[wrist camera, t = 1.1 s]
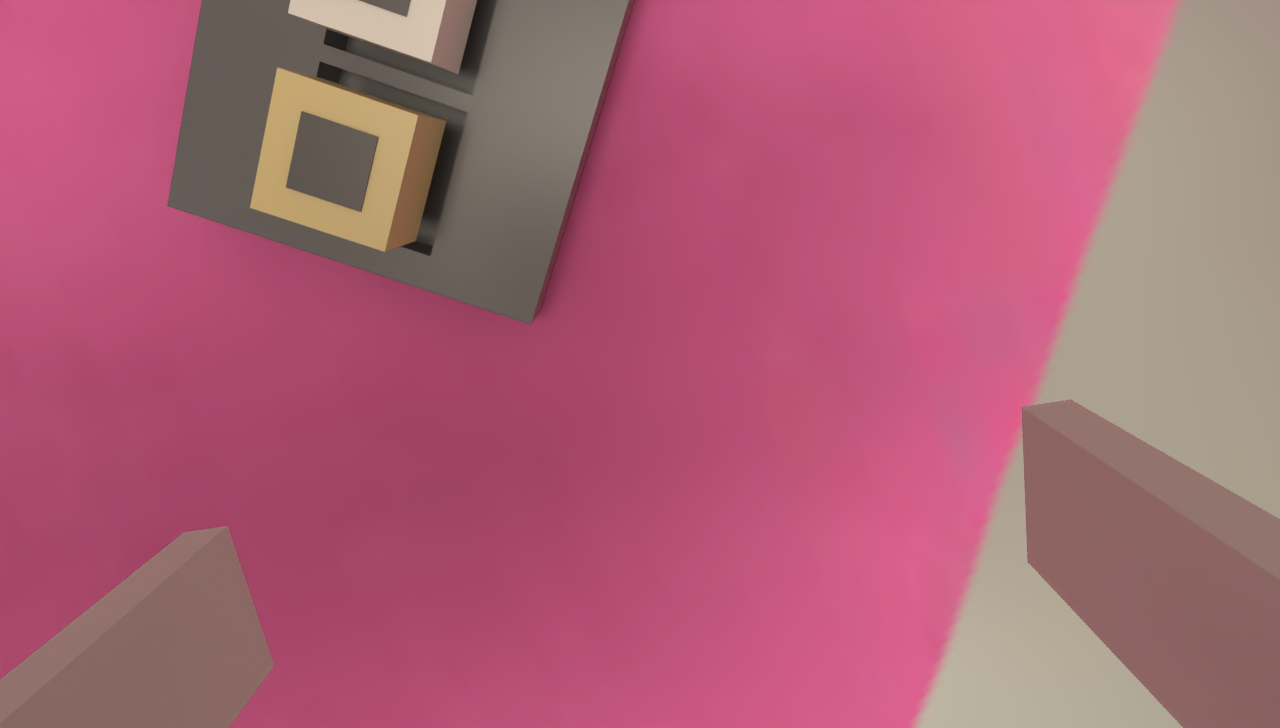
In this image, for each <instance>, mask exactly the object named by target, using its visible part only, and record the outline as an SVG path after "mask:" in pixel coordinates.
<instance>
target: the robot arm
mask: <svg viewBox="0 0 1280 728" xmlns="http://www.w3.org/2000/svg"><path fill="white" fill-rule="evenodd" d="M1022 428H1023V454H1024V478H1025V479H1024V480H1025V504H1026V532H1027V558H1028V563H1030V565H1031V566H1032V567H1033V568H1034V569H1035V570H1036V571H1037V572H1038V573H1039V574H1040V575H1041V576H1042V578H1044V580H1045V581H1046V582H1047V583H1048V584H1049V585H1050V586H1051V587H1052V588H1053V589H1054V590H1055V591H1056V592H1057V594H1058V595H1059V596H1060V597H1061V598H1062V599H1063V600H1064V601H1065V602H1066V603H1067V604H1068V605H1069V606H1070V607H1071V608H1072V609H1073V611H1074V612H1075V613H1076V614H1077V615H1078V616H1079V617H1080V618H1081V619H1082V620H1083V621H1084V622H1085V623H1086V624H1087V625H1088V626H1089V628H1090V629H1091V630H1092V631H1093V632H1094V633H1095V634H1096V635H1097V636H1098V637H1099V638H1100V639H1101V640H1102V641H1103V643H1104V644H1106V646H1107V647H1108V648H1109V649H1110V650H1111V651H1112V652H1113V653H1114V654H1115V655H1116V656H1117V657H1118V659H1119V660H1120V661H1121V662H1122V663H1123V664H1124V665H1125V666H1126V667H1127V668H1128V669H1129V670H1130V671H1131V672H1132V673H1133V674H1134V676H1135V677H1136V678H1137V679H1138V680H1139V681H1140V682H1141V683H1142V684H1143V685H1144V686H1145V687H1146V688H1147V689H1148V690H1149V691H1150V693H1151V694H1152V695H1153V696H1154V697H1155V698H1156V699H1157V700H1158V701H1159V702H1160V703H1161V704H1162V705H1163V706H1164V708H1166V710H1167V711H1168V712H1169V713H1170V714H1171V715H1172V716H1173V717H1174V718H1175V719H1176V720H1177V721H1178V722H1179V724H1180V725H1181V726H1182V727H1183V728H1280V519H1279V518H1277V517H1275V516H1273V515H1271V514H1270V513H1268V512H1266V511H1265V510H1263V509H1261V508H1259V507H1258V506H1256V505H1254V504H1252V503H1251V502H1249V501H1247V500H1245V499H1244V498H1242V497H1240V496H1238V495H1237V494H1235V493H1233V492H1231V491H1230V490H1228V489H1226V488H1224V487H1222V486H1221V485H1219V484H1217V483H1215V482H1214V481H1212V480H1210V479H1208V478H1207V477H1205V476H1203V475H1201V474H1200V473H1198V472H1196V471H1195V470H1193V469H1191V468H1189V467H1188V466H1186V465H1184V464H1182V463H1181V462H1179V461H1177V460H1175V459H1174V458H1172V457H1170V456H1168V455H1166V454H1165V453H1163V452H1161V451H1160V450H1158V449H1156V448H1154V447H1153V446H1151V445H1149V444H1147V443H1146V442H1144V441H1142V440H1140V439H1139V438H1137V437H1135V436H1133V435H1132V434H1130V433H1128V432H1126V431H1125V430H1123V429H1121V428H1119V427H1118V426H1116V425H1114V424H1112V423H1111V422H1109V421H1107V420H1106V419H1104V418H1102V417H1100V416H1099V415H1097V414H1095V413H1093V412H1091V411H1090V410H1088V409H1086V408H1085V407H1082V406H1081V405H1079V404H1078V403H1076V402H1074V401H1072V400H1066V401H1059V402H1052V403H1045V404H1039V405H1032V406H1025V407H1022ZM273 667H274V664H273V661H272V658H271V655H270V652H269V649H268V646H267V643H266V640H265V637H264V634H263V631H262V628H261V625H260V622H259V619H258V616H257V613H256V610H255V607H254V604H253V601H252V598H251V595H250V592H249V589H248V586H247V583H246V580H245V577H244V574H243V571H242V568H241V565H240V562H239V559H238V556H237V553H236V550H235V547H234V544H233V541H232V538H231V535H230V532H229V529H228V526H222V527H215V528H208V529H202V530H195V531H188V532H183V533H182V534H181V535H180V536H178V537H177V538H176V539H175V540H173V541H172V542H171V543H170V544H168V545H167V546H166V547H165V548H163V549H162V550H161V551H160V552H158V553H157V554H156V555H155V556H154V557H152V558H151V559H150V560H149V561H147V562H146V563H145V564H144V565H142V566H141V567H140V568H139V569H137V570H136V571H135V572H134V573H132V574H131V575H130V576H129V577H127V578H126V579H125V580H124V581H122V582H121V583H120V584H119V585H117V586H116V587H115V588H114V589H112V590H111V591H110V592H109V593H107V594H106V595H105V596H104V597H102V598H101V599H100V600H99V601H97V602H96V603H95V604H94V605H92V606H91V607H90V608H89V609H87V610H86V611H85V612H84V613H82V614H81V615H80V616H79V617H77V618H76V619H75V620H74V621H72V622H71V623H70V624H69V625H67V626H66V627H65V628H64V629H62V630H61V631H60V632H59V633H58V634H56V635H55V636H54V637H53V638H51V639H50V640H49V641H48V642H46V643H45V644H44V645H43V646H41V647H40V648H39V649H38V650H36V651H35V652H34V653H33V654H31V655H30V656H29V657H28V658H26V659H25V660H24V661H23V662H21V663H20V664H19V665H18V666H16V667H15V668H14V669H13V670H11V671H10V672H9V673H8V674H6V675H5V676H4V677H3V678H1V679H0V728H229V727H230V725H231V724H232V723H233V721H234V720H235V719H236V717H237V716H238V715H239V713H240V712H241V710H242V709H243V708H244V706H245V705H246V704H247V702H248V701H249V700H250V698H251V697H252V696H253V694H254V693H255V692H256V690H257V689H258V687H259V686H260V685H261V683H262V682H263V681H264V679H265V678H266V677H267V675H268V674H269V673H270V671H271V670H272V669H273Z"/></svg>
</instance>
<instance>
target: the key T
mask: <svg viewBox="0 0 1280 728" xmlns="http://www.w3.org/2000/svg"><path fill="white" fill-rule="evenodd" d="M476 3H477V0H290V5H289V10H288V13H289V14H292V15H294V16H297V17H299V18H302V19H304V20H307V21H309V22H312V23H314V24H317V25H319V26H322V27H324V28H327V29H329V30H331V31H334V32H337V33H340V34H343V35H346V36H348V37H351V38H354V39H357V40H360V41H363V42H366V43H369V44H372V45H374V46H377V47H380V48H383V49H386V50H389V51H392V52H395V53H397V54H400V55H403V56H406V57H409V58H412V59H415V60H418V61H421V62H423V63H426V64H429V65H432V66H435V67H438V68H441V69H444V70H446V71H449V72H452V73H455V74H459V70H460V66H461V62H462V58H463V54H464V50H465V46H466V42H467V38H468V34H469V30H470V26H471V22H472V19H473V15H474V11H475V7H476Z"/></svg>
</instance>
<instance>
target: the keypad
mask: <svg viewBox="0 0 1280 728" xmlns="http://www.w3.org/2000/svg"><path fill="white" fill-rule="evenodd" d="M634 1H635V0H477V3H476V7H475V11H474V15H473V19H472V22H471V26H470V30H469V34H468V38H467V42H466V46H465V50H464V54H463V58H462V62H461V66H460V70H459V74H455V73H452V72H449V71H446V70H444V69H441V68H438V67H435V66H432V65H429V64H426V63H423V62H421V61H418V60H415V59H412V58H409V57H406V56H403V55H400V54H397V53H395V52H392V51H389V50H386V49H383V48H380V47H377V46H374V45H372V44H369V43H366V42H363V41H360V40H357V39H354V38H351V37H348V36H346V35H343V34H340V33H337V32H334V31H331V30H329V29H327V28H324V27H322V26H319V25H317V24H314V23H312V22H309V21H307V20H304V19H302V18H299V17H297V16H294V15H292V14H289V13H288V10H289V5H290V0H202V2H201V8H200V14H199V20H198V26H197V32H196V38H195V44H194V50H193V56H192V62H191V68H190V74H189V80H188V86H187V92H186V98H185V104H184V110H183V116H182V122H181V128H180V134H179V140H178V146H177V152H176V158H175V164H174V170H173V176H172V182H171V188H170V194H169V200H168V207H171V208H174V209H178V210H181V211H184V212H187V213H190V214H193V215H196V216H199V217H202V218H205V219H208V220H211V221H214V222H218V223H221V224H224V225H227V226H230V227H233V228H236V229H239V230H242V231H245V232H248V233H251V234H254V235H257V236H261V237H264V238H267V239H270V240H273V241H276V242H279V243H282V244H285V245H288V246H291V247H294V248H297V249H301V250H304V251H307V252H310V253H313V254H316V255H319V256H322V257H325V258H328V259H331V260H334V261H337V262H340V263H344V264H347V265H350V266H353V267H356V268H359V269H362V270H365V271H368V272H371V273H374V274H377V275H380V276H384V277H387V278H390V279H393V280H396V281H399V282H402V283H405V284H408V285H411V286H414V287H417V288H420V289H423V290H427V291H430V292H433V293H436V294H439V295H442V296H445V297H448V298H451V299H454V300H457V301H460V302H463V303H467V304H470V305H473V306H476V307H479V308H482V309H485V310H488V311H491V312H494V313H497V314H500V315H503V316H506V317H510V318H513V319H516V320H519V321H522V322H525V323H528V324H532V322H533V321H534V319H535V318H536V317H537V315H538V314H539V313H540V310H541V307H542V304H543V300H544V297H545V294H546V290H547V287H548V284H549V281H550V277H551V274H552V271H553V267H554V264H555V261H556V258H557V254H558V251H559V248H560V244H561V241H562V238H563V235H564V231H565V228H566V225H567V221H568V218H569V215H570V211H571V208H572V205H573V202H574V198H575V195H576V192H577V188H578V185H579V182H580V179H581V175H582V172H583V169H584V165H585V162H586V159H587V156H588V152H589V149H590V146H591V142H592V139H593V136H594V132H595V129H596V126H597V123H598V119H599V116H600V113H601V109H602V106H603V103H604V100H605V96H606V93H607V90H608V86H609V83H610V80H611V77H612V73H613V70H614V67H615V63H616V60H617V57H618V53H619V50H620V47H621V44H622V40H623V37H624V34H625V30H626V27H627V24H628V21H629V17H630V14H631V11H632V7H633V4H634ZM277 67H278V68H282V69H286V70H290V71H294V72H298V73H302V74H306V75H310V76H315V77H319V78H323V79H326V80H329V81H332V82H335V83H338V84H340V85H343V86H346V87H349V88H352V89H355V90H358V91H361V92H364V93H367V94H370V95H373V96H376V97H378V98H381V99H384V100H387V101H390V102H393V103H396V104H399V105H402V106H405V107H408V108H411V109H414V110H416V111H419V112H422V113H425V114H428V115H431V116H434V117H437V118H440V119H443V120H446V125H445V129H444V133H443V137H442V141H441V144H440V148H439V152H438V156H437V160H436V164H435V168H434V172H433V176H432V180H431V184H430V188H429V192H428V196H427V200H426V203H425V207H424V211H423V215H422V219H421V223H420V227H419V231H418V235H417V239H416V241H414V242H412V243H409V244H406V245H403V246H400V247H397V248H394V249H392V250H389V251H386V252H383V251H380V250H377V249H374V248H371V247H368V246H365V245H362V244H359V243H356V242H353V241H350V240H347V239H344V238H341V237H338V236H335V235H332V234H329V233H325V232H322V231H319V230H316V229H313V228H310V227H307V226H304V225H301V224H298V223H295V222H292V221H289V220H286V219H283V218H280V217H277V216H274V215H271V214H267V213H264V212H261V211H258V210H255V209H252V208H250V205H251V200H252V194H253V189H254V184H255V179H256V174H257V169H258V164H259V159H260V153H261V148H262V143H263V138H264V133H265V128H266V123H267V118H268V112H269V107H270V102H271V97H272V92H273V87H274V82H275V77H276V71H277Z"/></svg>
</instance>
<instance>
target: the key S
mask: <svg viewBox="0 0 1280 728" xmlns="http://www.w3.org/2000/svg"><path fill="white" fill-rule="evenodd" d="M445 125H446V120H443V119H440V118H437V117H434V116H431V115H428V114H425V113H422V112H419V111H416V110H414V109H411V108H408V107H405V106H402V105H399V104H396V103H393V102H390V101H387V100H384V99H381V98H378V97H376V96H373V95H370V94H367V93H364V92H361V91H358V90H355V89H352V88H349V87H346V86H343V85H340V84H338V83H335V82H332V81H329V80H326V79H323V78H319V77H315V76H310V75H306V74H302V73H298V72H294V71H290V70H286V69H282V68H278V67H277V71H276V77H275V82H274V87H273V92H272V97H271V102H270V107H269V112H268V118H267V123H266V128H265V133H264V138H263V143H262V148H261V153H260V159H259V164H258V169H257V174H256V179H255V184H254V189H253V194H252V200H251V205H250V208H252V209H255V210H258V211H261V212H264V213H267V214H271V215H274V216H277V217H280V218H283V219H286V220H289V221H292V222H295V223H298V224H301V225H304V226H307V227H310V228H313V229H316V230H319V231H322V232H325V233H329V234H332V235H335V236H338V237H341V238H344V239H347V240H350V241H353V242H356V243H359V244H362V245H365V246H368V247H371V248H374V249H377V250H380V251H383V252H386V251H389V250H392V249H394V248H397V247H400V246H403V245H406V244H409V243H412V242H414V241H416V239H417V235H418V231H419V227H420V223H421V219H422V215H423V211H424V207H425V203H426V200H427V196H428V192H429V188H430V184H431V180H432V176H433V172H434V168H435V164H436V160H437V156H438V152H439V148H440V144H441V141H442V137H443V133H444V129H445Z"/></svg>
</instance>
